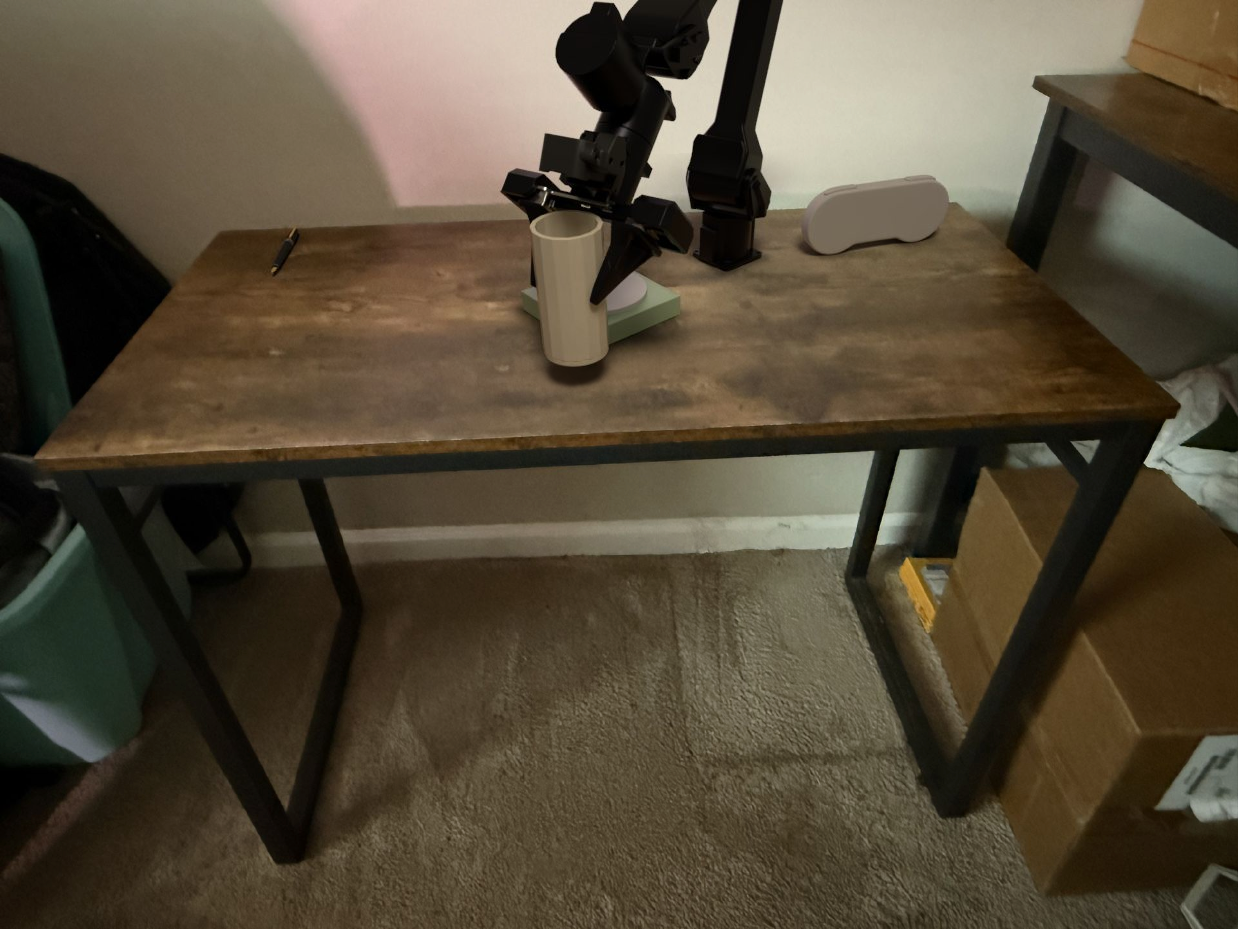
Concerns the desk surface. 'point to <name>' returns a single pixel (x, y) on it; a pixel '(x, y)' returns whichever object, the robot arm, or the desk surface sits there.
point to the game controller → (874, 213)
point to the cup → (570, 286)
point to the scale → (627, 306)
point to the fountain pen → (285, 249)
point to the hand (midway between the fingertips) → (562, 295)
